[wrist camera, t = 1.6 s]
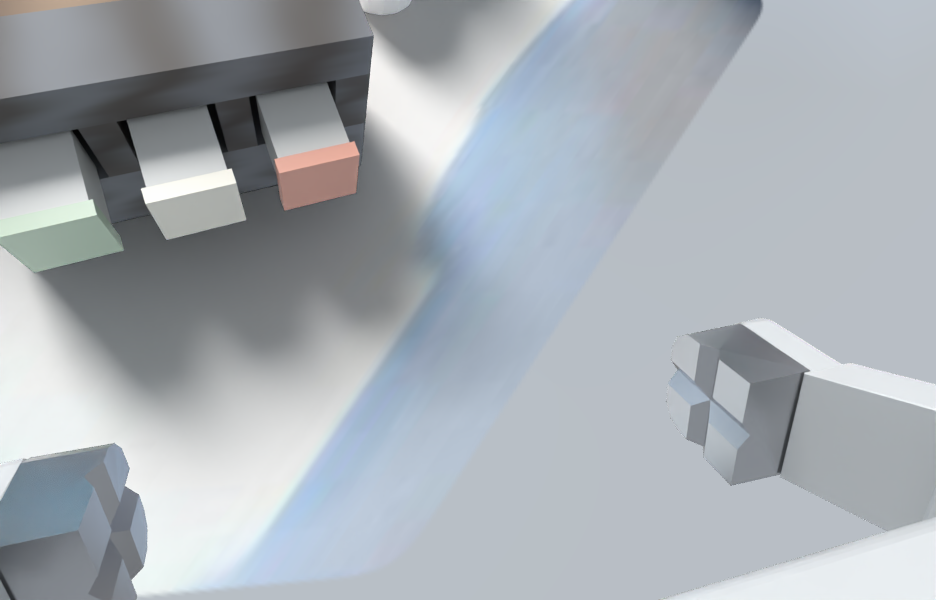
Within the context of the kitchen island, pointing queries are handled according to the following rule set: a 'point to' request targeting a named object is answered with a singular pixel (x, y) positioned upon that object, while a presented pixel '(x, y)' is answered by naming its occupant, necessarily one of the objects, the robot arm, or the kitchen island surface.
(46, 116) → the console
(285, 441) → the kitchen island surface
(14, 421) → the kitchen island surface
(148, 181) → the cream button
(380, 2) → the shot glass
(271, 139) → the coral button
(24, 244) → the sage button
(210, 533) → the kitchen island surface
